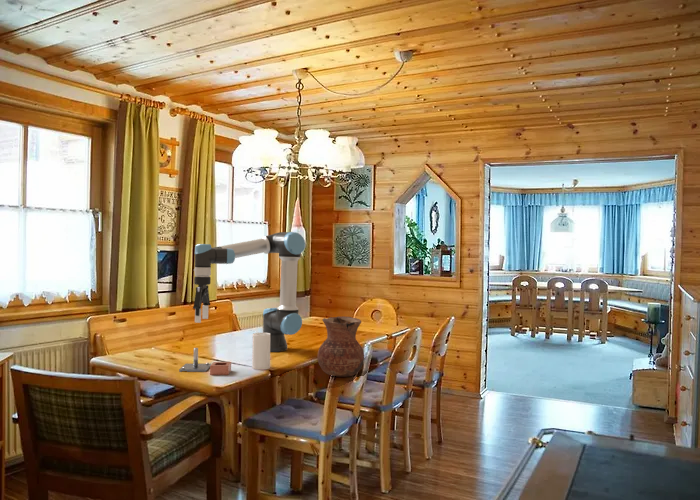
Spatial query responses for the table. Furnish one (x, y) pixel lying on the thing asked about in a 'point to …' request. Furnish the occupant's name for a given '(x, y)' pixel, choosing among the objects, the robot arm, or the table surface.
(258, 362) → the cup
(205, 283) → the robot arm
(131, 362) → the table surface
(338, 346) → the brown clay vase
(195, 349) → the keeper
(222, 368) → the link
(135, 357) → the table surface
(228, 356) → the table surface
